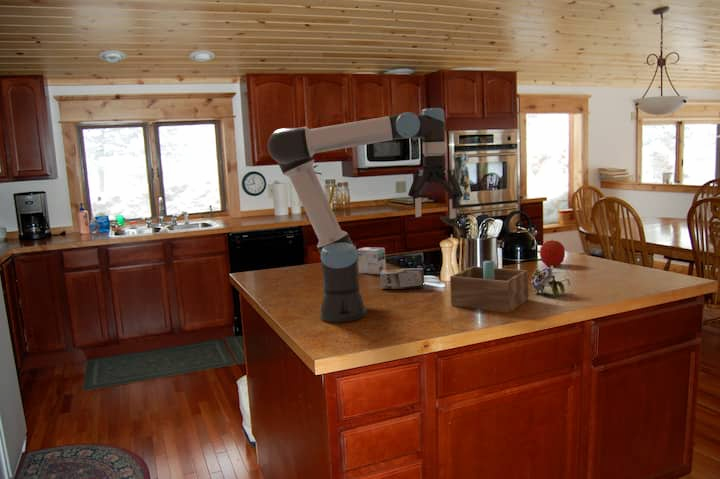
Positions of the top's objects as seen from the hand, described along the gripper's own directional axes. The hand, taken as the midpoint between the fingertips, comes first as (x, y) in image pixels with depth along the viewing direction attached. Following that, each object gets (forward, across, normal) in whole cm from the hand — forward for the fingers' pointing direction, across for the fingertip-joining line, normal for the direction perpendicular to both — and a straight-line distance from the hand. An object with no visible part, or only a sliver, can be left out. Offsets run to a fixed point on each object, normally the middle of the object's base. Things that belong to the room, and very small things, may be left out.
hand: (435, 217), depth 191 cm
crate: (+28, -18, -4) cm, 34 cm away
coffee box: (+26, +29, -6) cm, 39 cm away
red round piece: (+28, -17, -66) cm, 74 cm away
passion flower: (+28, -32, -22) cm, 48 cm away
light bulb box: (+30, +49, -26) cm, 63 cm away
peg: (+28, -18, -4) cm, 34 cm away
